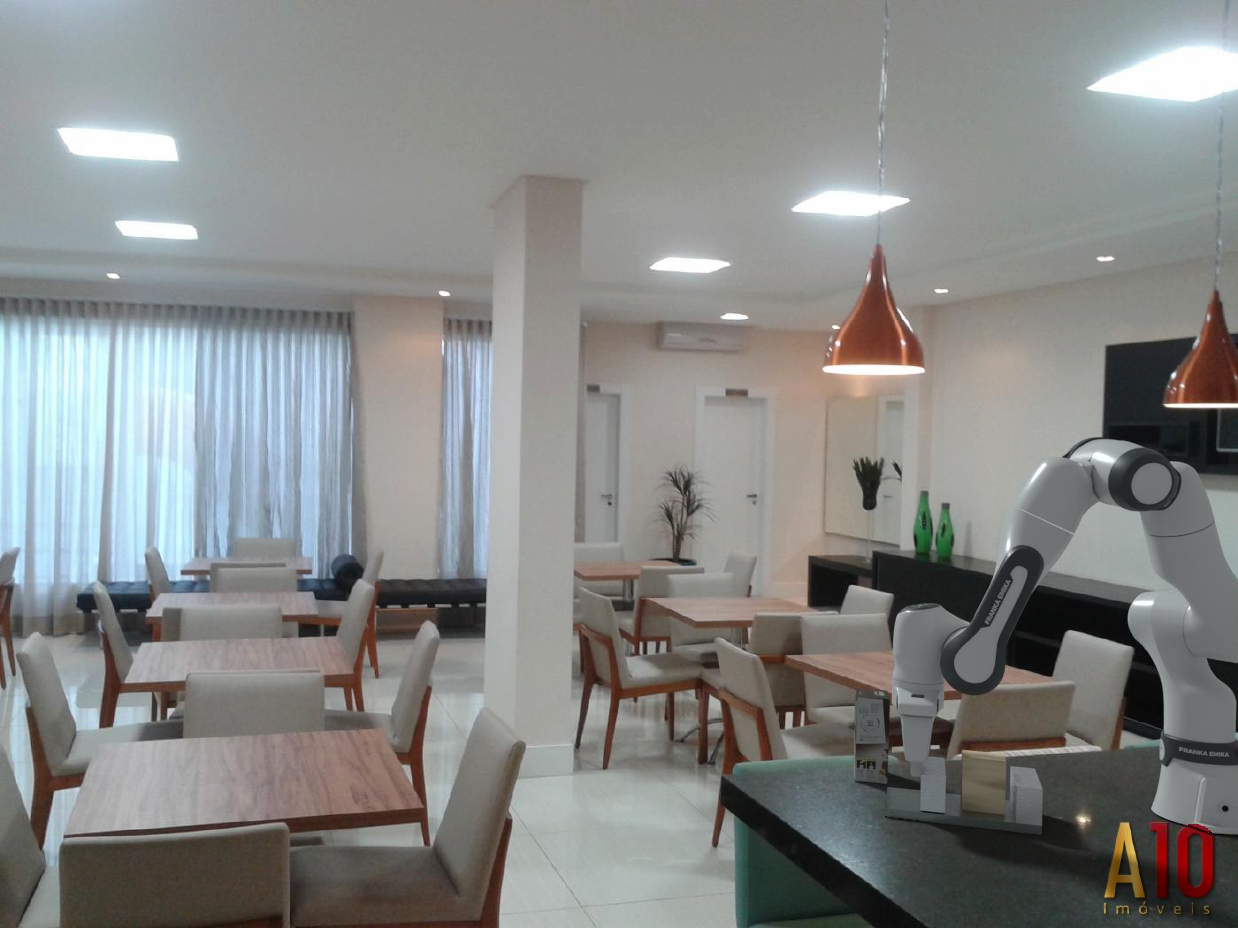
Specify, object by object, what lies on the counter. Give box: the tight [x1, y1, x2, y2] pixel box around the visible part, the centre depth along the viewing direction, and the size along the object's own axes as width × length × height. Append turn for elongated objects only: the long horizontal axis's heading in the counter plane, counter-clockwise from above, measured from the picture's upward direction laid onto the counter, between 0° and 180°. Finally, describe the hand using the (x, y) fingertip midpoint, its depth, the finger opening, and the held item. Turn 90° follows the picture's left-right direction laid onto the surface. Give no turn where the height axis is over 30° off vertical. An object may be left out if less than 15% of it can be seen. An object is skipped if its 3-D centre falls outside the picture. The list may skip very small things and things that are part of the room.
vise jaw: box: [919, 755, 947, 813], centre depth 185 cm, size 4×13×6 cm, turn 164°
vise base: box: [884, 765, 1044, 836], centre depth 184 cm, size 25×13×8 cm, turn 74°
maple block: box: [960, 749, 1007, 814], centre depth 183 cm, size 5×7×9 cm
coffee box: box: [853, 688, 891, 785], centre depth 205 cm, size 9×6×16 cm
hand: (915, 774), depth 186 cm, fingers closed, pressing on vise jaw
